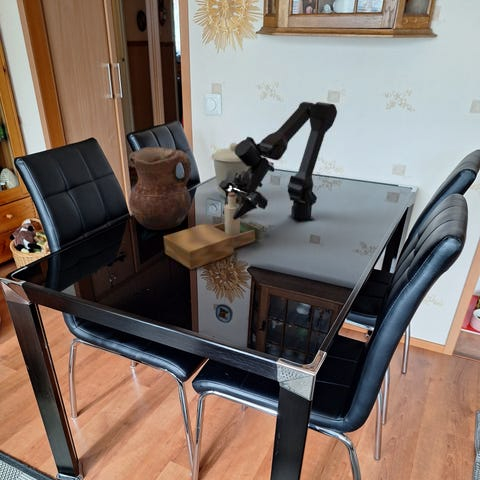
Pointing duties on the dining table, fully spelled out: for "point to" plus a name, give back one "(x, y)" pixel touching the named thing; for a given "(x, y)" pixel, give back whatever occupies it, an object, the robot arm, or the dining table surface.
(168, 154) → the jug
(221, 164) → the canister
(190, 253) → the wooden box
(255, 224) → the drawer
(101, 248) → the dining table surface
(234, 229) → the bottle
